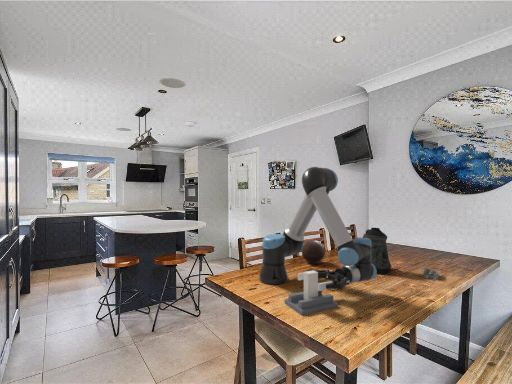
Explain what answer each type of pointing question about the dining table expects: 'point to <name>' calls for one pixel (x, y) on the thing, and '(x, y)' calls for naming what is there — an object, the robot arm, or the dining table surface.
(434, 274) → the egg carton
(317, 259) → the wooden sphere
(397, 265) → the dining table surface
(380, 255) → the black irregular block
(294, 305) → the rack
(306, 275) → the white rectangular block
